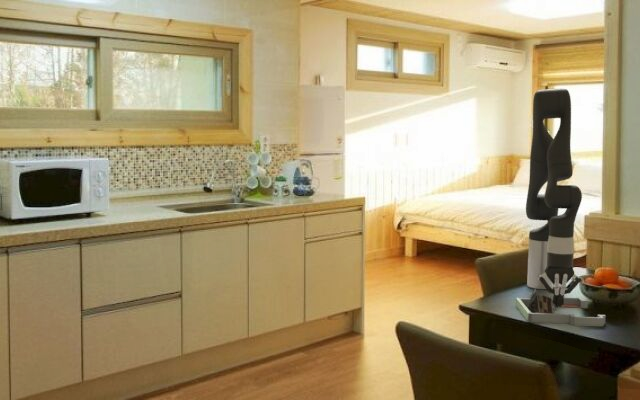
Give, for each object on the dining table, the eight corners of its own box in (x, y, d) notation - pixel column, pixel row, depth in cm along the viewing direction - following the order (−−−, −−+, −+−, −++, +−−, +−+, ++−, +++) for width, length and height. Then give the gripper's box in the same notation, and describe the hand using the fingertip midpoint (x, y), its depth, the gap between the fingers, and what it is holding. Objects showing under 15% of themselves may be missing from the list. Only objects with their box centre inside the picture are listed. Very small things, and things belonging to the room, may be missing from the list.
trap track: (514, 303, 220) (514, 296, 219) (584, 305, 218) (584, 297, 217) (529, 324, 197) (530, 315, 197) (607, 326, 195) (608, 318, 195)
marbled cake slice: (561, 323, 201) (562, 288, 208) (538, 316, 201) (540, 282, 208) (546, 336, 208) (548, 303, 216) (525, 329, 208) (527, 296, 216)
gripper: (579, 248, 208) (576, 303, 210) (535, 248, 209) (533, 302, 211) (586, 253, 201) (583, 310, 203) (541, 252, 202) (538, 309, 204)
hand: (557, 306), depth 207 cm, fingers closed
